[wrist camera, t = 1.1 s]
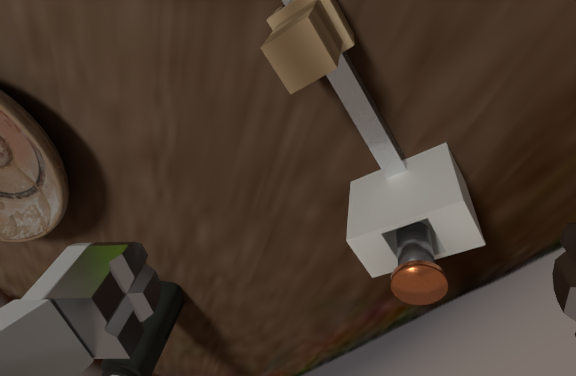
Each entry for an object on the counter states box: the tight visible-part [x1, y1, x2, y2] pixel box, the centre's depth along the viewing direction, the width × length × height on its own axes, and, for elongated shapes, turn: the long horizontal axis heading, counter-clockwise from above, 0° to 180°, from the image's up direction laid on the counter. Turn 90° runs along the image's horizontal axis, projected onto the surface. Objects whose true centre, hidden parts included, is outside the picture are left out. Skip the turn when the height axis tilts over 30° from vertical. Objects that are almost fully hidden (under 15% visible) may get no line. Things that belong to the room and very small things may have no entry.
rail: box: [282, 0, 407, 178], centre depth 35 cm, size 2×18×2 cm, turn 33°
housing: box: [346, 143, 486, 278], centre depth 37 cm, size 10×5×9 cm, turn 123°
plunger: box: [391, 221, 448, 305], centre depth 32 cm, size 4×4×6 cm
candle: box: [101, 281, 184, 376], centre depth 49 cm, size 5×5×25 cm
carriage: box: [261, 0, 355, 94], centre depth 29 cm, size 5×5×9 cm
